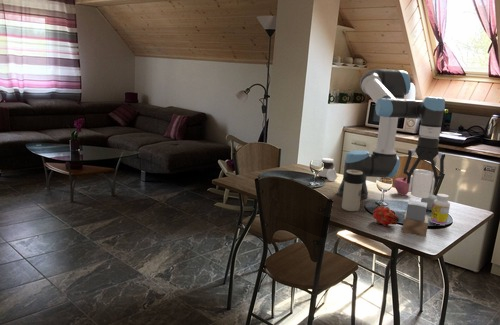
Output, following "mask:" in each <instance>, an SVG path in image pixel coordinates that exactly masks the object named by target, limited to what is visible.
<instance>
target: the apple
mask: <svg viewBox="0 0 500 325" xmlns="http://www.w3.org/2000/svg"><path fill="white" fill-rule="evenodd" d="M393 182H394V183H393V185H394V188H395V190H396V192H397V194H399V195H401V196H406V195H408V194H409V192H408V190H409V184H408V183H407V177H398V178H397V177H396V178H394V181H393ZM411 190H412V185H411Z"/></svg>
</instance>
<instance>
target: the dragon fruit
mask: <svg viewBox="0 0 500 325" xmlns="http://www.w3.org/2000/svg"><path fill="white" fill-rule="evenodd" d="M372 213H373V214H371V216H372V218H373V219H375V220H376V223H377V225H380V224H381V225H383V226H384V227H387V228H392V226H391V225H397V224H398V223H397V222H400V218H399V216H398V215H396V212H395V211H394V210H391V208H390V207H388V206H385V205H380V206H379V205H378V206H377V207H376V208H375V209H373V212H372Z"/></svg>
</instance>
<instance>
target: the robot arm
mask: <svg viewBox="0 0 500 325" xmlns="http://www.w3.org/2000/svg"><path fill="white" fill-rule="evenodd" d="M411 83H412V82H411V77H410V74H409V73H408V72H407V71H405V70H401V69H385V68H383V69H382V68H374V69H370V70H368V71H366V72H365V73H363V75H362V76H361V78H360V81H359V86H360V87H359V88H360V89H361V91H362V92H363V93H364V94H365V95H368V96H369V97H370V98H371V99H372V101H373V102H374V103H375V107H374V110H375V113H376V114H375V115H376V116H378V117H379V123H378V125H379V126H378V130H377V133H378V134H377V139H376V140H377V141H376V147H375V148H374V149H373V150H372V153H371V152H370V151H368V150H362V149H361V150H359V149H357V150H351V151H348V152H347V153H346V155H345V158H344V166H343V175H342V181H341V183H340V185H339V187H338V189H337V190H338V191H337V194H338V195H339V196H340V197H342V198H343V191H344V182H345V177H346V175H347V172H346V171H347V170H358V171H361V172H363V174H362V179H363V182H362V190H361V198H360V200H365V199H367V198H368V197H369V196H368V195H369V191H368V187H367V186H368V185H367V177H370V178H371V177H372V178H384V179H386V178H387V179H389V178H394V177H395V176H396V175H397V174H398V172H399V169H400V165H401V162H400V161H401V159H400V157H399V156H398V155H397V151H396V150H395V144H396V136H397V129H398V121H399V118H400V119H401V118H402V119H415V120H416V119H417V120H420V126H419V131H418V132H419V133H418V135H419V136H418V139H417V146H416V148H415V149H408V156H407V159H406V162H405V165H404V167H403V171H402V172H403V174H404V175H407V177H406V179H407V183H408V184H409V190H408V193H411V191H412V189H411V185H412V179H413V171H414V170H416V168H418V167H417V166H418V165H419V163H420V162H421V161H428V162H430V165H431V168H432V172H433V173H434V178H433V182H432V187H431V191H430V195H431V196H433V195H434V188H437V187H438V183H439V180H441V179H442V180H443V179H444V177H445V175H444V174H445V172H444V171H445V170H444V167H445V166H444V165H445V161H444V160H445V158H446V153H445V152H443V153H442V152H439V150H438V148H439V144H440V143H439V142H440V139H439V138H440V137H441V136H440V135H441V131H442V130H441V129H442V123H443V120H444V119H443V118H444V112H445V108H446V107H445V106H446V105H445V104H446V99H445V98H443V97H438V96H435V97H434V96H426V97H424V99H405V96H406V95H408V94H409V93H410V90H411ZM415 153H416V155H417V158H416V159H415V161H414V162H413V164H412V166H411V167H410V169H409V166H410V164H411V160H412V156H413V155H414V154H415ZM437 156H438V158H439V174H438V172H437V168H436V165H435V161H434V159H435V158H436V157H437Z"/></svg>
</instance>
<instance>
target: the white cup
mask: <svg viewBox="0 0 500 325" xmlns="http://www.w3.org/2000/svg"><path fill="white" fill-rule="evenodd" d="M412 175H413V179H412V189H411V192H410V195H412V196H413V197H416V198H418V199H420V198H421V199H422V198H428V197H429V195H430V192H431V187H432V182H433V178H435V176H434V173H433V171H430V170H426V169H419V168H418V169H416V168H415V170H414V171H413V173H412Z"/></svg>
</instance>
